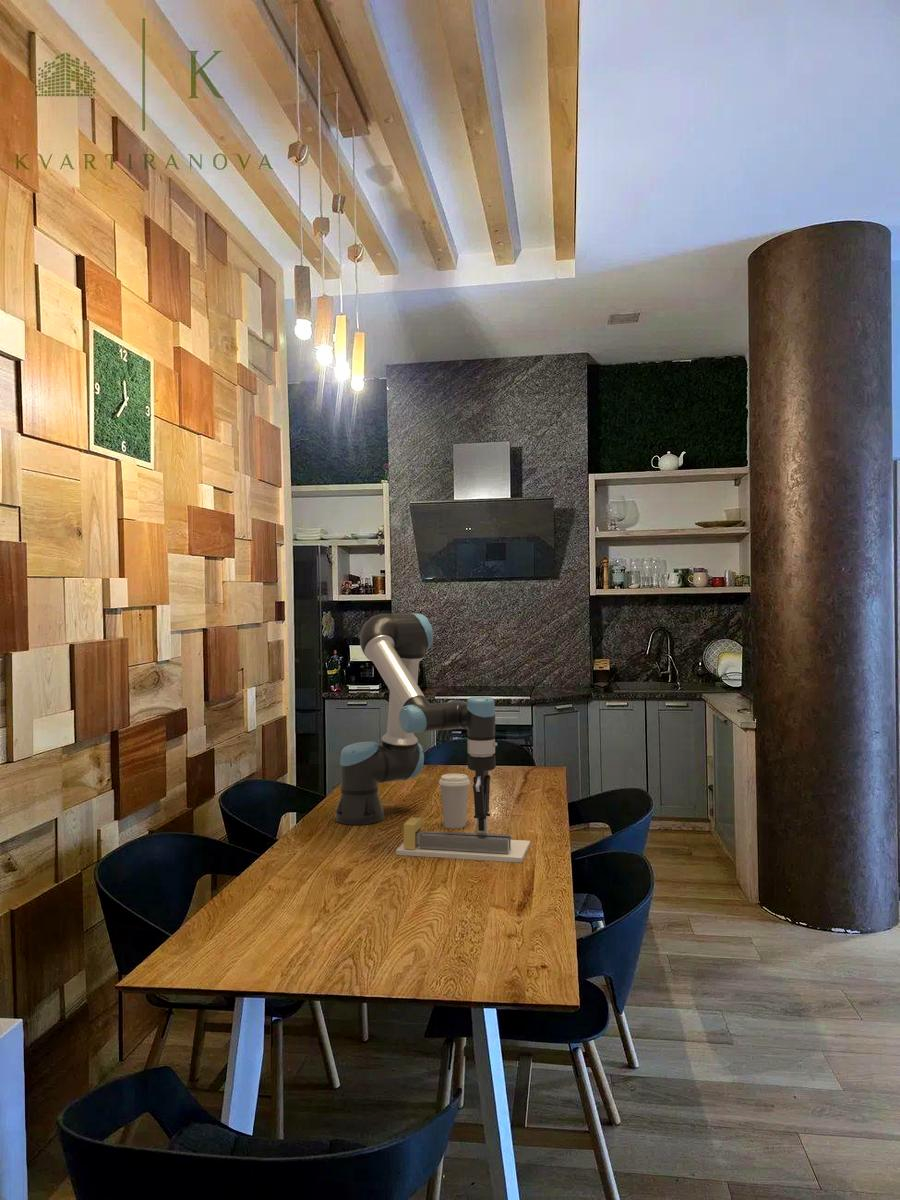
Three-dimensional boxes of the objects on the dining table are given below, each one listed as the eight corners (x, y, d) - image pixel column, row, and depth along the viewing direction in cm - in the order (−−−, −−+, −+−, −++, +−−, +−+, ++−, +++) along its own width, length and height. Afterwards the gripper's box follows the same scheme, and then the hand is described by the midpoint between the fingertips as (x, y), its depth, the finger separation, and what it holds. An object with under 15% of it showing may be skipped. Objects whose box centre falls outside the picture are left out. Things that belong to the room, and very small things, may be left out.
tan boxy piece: (403, 848, 225) (403, 824, 225) (411, 840, 232) (411, 817, 232) (414, 849, 224) (414, 825, 224) (422, 841, 231) (421, 817, 231)
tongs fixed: (405, 847, 226) (405, 834, 226) (409, 842, 230) (409, 829, 230) (507, 853, 220) (507, 840, 220) (510, 848, 224) (510, 835, 224)
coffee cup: (433, 827, 251) (432, 777, 251) (448, 820, 260) (447, 771, 260) (461, 831, 247) (461, 780, 247) (476, 823, 255) (475, 774, 255)
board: (395, 854, 224) (395, 850, 224) (412, 838, 240) (412, 834, 240) (521, 862, 217) (521, 858, 217) (530, 845, 232) (530, 840, 232)
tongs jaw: (422, 845, 227) (421, 832, 227) (423, 843, 229) (423, 830, 229) (510, 849, 223) (510, 836, 223) (510, 847, 225) (510, 834, 225)
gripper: (490, 759, 220) (491, 849, 220) (499, 750, 233) (500, 835, 233) (462, 758, 222) (463, 847, 222) (472, 749, 234) (473, 834, 234)
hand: (482, 841), depth 227 cm, fingers closed
